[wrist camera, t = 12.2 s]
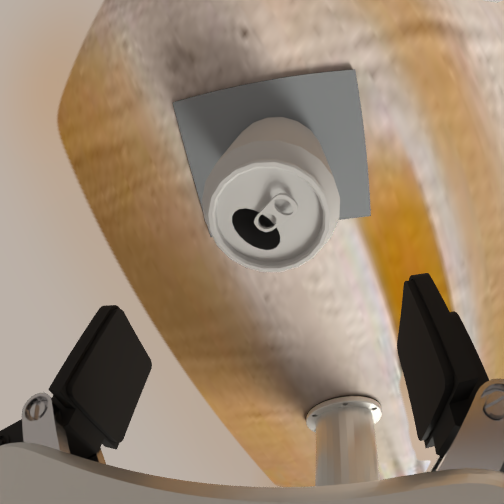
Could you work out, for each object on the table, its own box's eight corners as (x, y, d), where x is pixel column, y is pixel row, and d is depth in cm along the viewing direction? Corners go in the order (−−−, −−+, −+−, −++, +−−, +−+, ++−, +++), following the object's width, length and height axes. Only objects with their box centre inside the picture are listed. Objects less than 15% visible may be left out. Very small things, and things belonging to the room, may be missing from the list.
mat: (369, 213, 28) (370, 215, 27) (212, 234, 31) (210, 237, 30) (353, 69, 22) (354, 69, 21) (174, 101, 24) (172, 102, 24)
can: (215, 162, 26) (166, 225, 16) (274, 96, 23) (260, 113, 13) (280, 216, 28) (273, 306, 18) (341, 158, 25) (375, 222, 15)
